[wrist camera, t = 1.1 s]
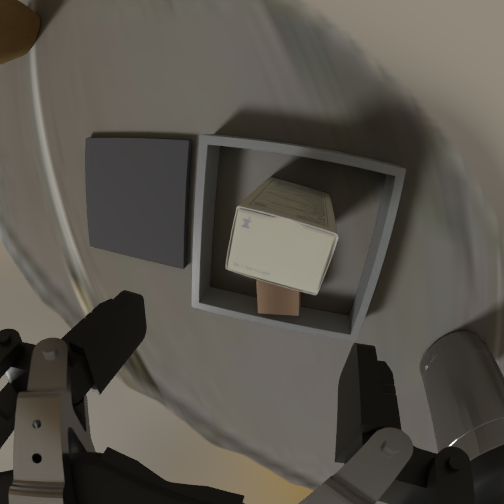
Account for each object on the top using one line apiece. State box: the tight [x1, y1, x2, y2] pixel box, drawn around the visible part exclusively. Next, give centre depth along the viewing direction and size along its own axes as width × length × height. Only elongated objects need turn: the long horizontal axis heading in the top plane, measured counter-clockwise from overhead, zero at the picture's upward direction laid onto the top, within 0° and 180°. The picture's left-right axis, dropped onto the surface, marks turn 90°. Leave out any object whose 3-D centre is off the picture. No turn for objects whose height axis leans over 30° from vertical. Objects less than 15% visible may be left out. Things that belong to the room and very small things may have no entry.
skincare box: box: [225, 177, 339, 295], centre depth 23 cm, size 6×4×12 cm
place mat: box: [85, 137, 192, 269], centre depth 32 cm, size 14×14×1 cm
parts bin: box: [192, 134, 406, 342], centre depth 28 cm, size 18×18×4 cm
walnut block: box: [256, 279, 302, 316], centre depth 30 cm, size 4×4×4 cm
